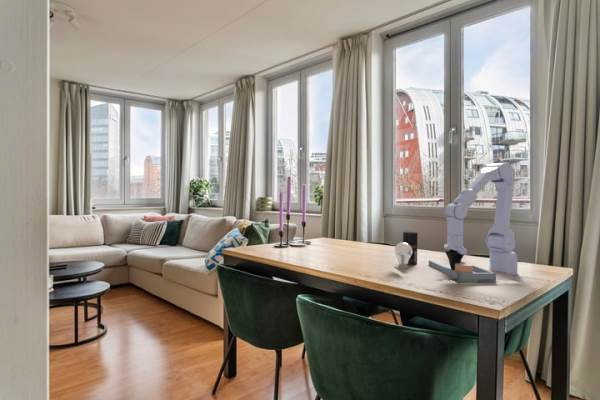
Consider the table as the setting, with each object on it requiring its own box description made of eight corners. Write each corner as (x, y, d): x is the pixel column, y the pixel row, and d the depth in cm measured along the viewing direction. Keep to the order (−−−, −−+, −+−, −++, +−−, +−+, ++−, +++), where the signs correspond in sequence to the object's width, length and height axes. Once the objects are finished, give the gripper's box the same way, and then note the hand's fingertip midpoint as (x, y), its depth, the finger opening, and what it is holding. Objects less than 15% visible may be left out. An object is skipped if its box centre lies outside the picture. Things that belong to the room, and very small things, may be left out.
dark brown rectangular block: (414, 269, 158) (415, 233, 158) (400, 267, 161) (401, 232, 161) (418, 266, 163) (419, 232, 163) (405, 265, 166) (405, 231, 166)
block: (466, 275, 140) (467, 263, 140) (473, 278, 135) (473, 265, 135) (455, 275, 140) (455, 263, 139) (460, 278, 135) (461, 265, 135)
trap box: (460, 268, 161) (460, 260, 161) (496, 283, 135) (496, 273, 135) (428, 268, 160) (428, 260, 160) (457, 283, 134) (458, 273, 134)
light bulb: (393, 272, 151) (393, 242, 151) (395, 269, 158) (395, 240, 157) (411, 274, 149) (411, 243, 148) (412, 270, 155) (413, 241, 155)
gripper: (436, 232, 152) (436, 266, 152) (453, 237, 137) (453, 274, 138) (453, 232, 152) (453, 266, 152) (472, 237, 138) (472, 274, 138)
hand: (454, 270), depth 145 cm, fingers closed
